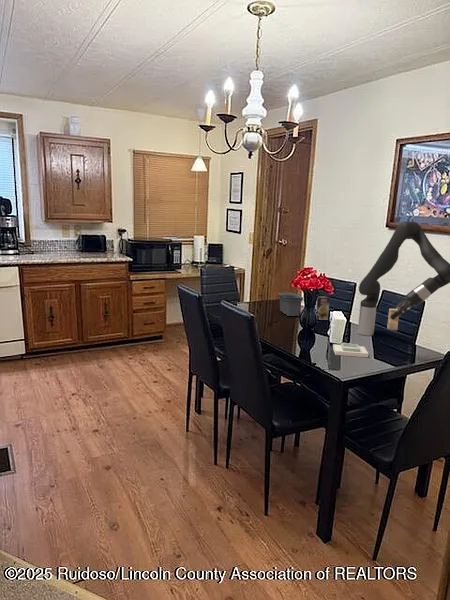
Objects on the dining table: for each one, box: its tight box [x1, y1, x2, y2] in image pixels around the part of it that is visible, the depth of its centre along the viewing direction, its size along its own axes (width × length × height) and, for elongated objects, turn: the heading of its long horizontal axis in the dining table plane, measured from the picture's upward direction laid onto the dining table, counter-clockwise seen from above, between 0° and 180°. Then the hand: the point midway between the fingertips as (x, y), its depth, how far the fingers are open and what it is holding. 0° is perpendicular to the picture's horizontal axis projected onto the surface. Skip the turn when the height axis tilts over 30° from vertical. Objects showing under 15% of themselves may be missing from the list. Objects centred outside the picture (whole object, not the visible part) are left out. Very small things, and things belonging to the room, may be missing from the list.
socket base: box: [332, 342, 369, 358], centre depth 218 cm, size 12×16×4 cm
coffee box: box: [315, 295, 331, 320], centre depth 287 cm, size 9×6×16 cm
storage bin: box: [277, 292, 304, 317], centre depth 300 cm, size 21×16×14 cm
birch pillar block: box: [386, 308, 400, 331], centre depth 213 cm, size 4×4×10 cm
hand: (390, 317), depth 213 cm, fingers closed on birch pillar block, 4 cm apart
